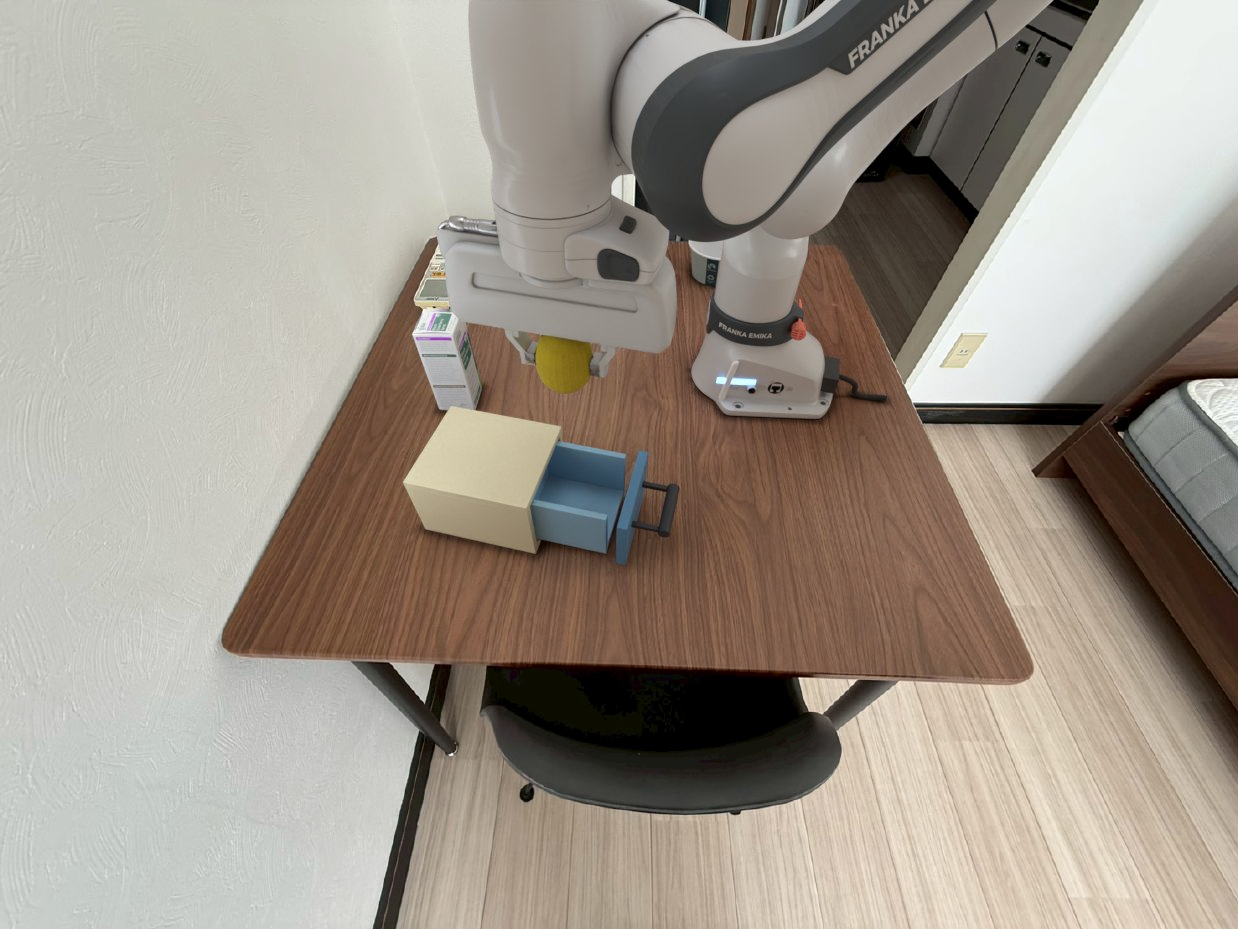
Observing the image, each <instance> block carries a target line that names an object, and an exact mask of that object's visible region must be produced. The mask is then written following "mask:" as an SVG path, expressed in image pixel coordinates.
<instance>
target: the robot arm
mask: <svg viewBox="0 0 1238 929" xmlns="http://www.w3.org/2000/svg"><path fill="white" fill-rule="evenodd" d="M1053 1H1054V0H824V1H823V2H822V3H820V4H819V5H818V6H817V7H815V9H814V10H813V11H811V12H810V13H809V15H807V16H806V17H805V18H804V19H803V20H802V21H800V23H798V24H796V25H795V26H794V27H793V28H791V29H790V30H789V29H788V31H785V32H783V33H781V34H778V35H775V36H772V37H767V38H763V39H755V40H753V39H752V40H738V39H737V38H735V37H733V36H732V35H731V34H729V33H728V32H725V31H724V30H723V29H722V28H720V27H719V26H718V25H717V24H715V23H714V22H712V21H710V20H709V19H707V18H705V17H704V16H702V15H701V14H698V13H697V12H695V11H693V10H692V9H690V8H687V7H685V6H683V5H680V4H677V3H674V2H671V1H669V0H468V11H467V12H468V14H467V16H468V19H467V20H468V21H467V22H468V23H467V24H468V44H469V55H470V56H469V57H470V66H471V74H472V80H473V81H472V83H473V89H474V96H475V103H476V109H477V116H478V122H479V129H480V132H481V135H482V137H483V139H484V142H485V144H486V146H487V149H488V152H489V155H490V159H491V178H490V196H491V202H492V207H493V215H494V219H495V220H494V219H487V218H470V217H467V216H464V215H450V216H449V217H448V219H445V220H443V221H441V222H440V223H439V224H438V226H437V229H436V240H437V244H438V247H439V252H440V255H441V257H442V259H443V260H444V278H445V287H446V294H447V299H448V304H449V309H451V311H452V312H453V313H454V314H455V315H456V317H457V318H458V319H459V320H461V321H463V322H466V324H474V325H479V326H486V327H492V328H499V329H504V336H505V337H506V339H507V340H508V341H509V342H510V343H511V344H512V345H513V347H514V348H515V349H516V350H517V351H518V352H519V356H520V362H521V364H522V365H528V366H532V367H536V359H535V355H536V348H537V344H538V341H534V340H533V339H532V338H531V337H530V335H529V334H534V335H535V334H536V335H540V336H541V335H547V336H553V337H559V338H565V339H571V340H577V341H583V342H589V343H590V344H596V345H600V351H601V352H600V351H593V358H592V359H591V361H590V370H591V371H590V375H591V376H590V377H596V378H602V379H606V377H607V375H608V372H609V367H610V361H611V360H612V359H613V358H614V357H615V356H616V354H617V351H618V349H619V348H621V349H626V350H631V351H632V350H633V351H638V352H645V353H650V354H656V355H657V354H658V355H659V354H661V353H663V352H664V351H665V350H667V349H668V348H669V347H670V346H671V343H672V340H673V337H674V334H675V329H676V323H677V308H678V305H677V304H678V302H677V301H678V296H677V295H678V294H677V279H676V272H675V268H674V267H673V266H674V265H673V263H672V262H671V260H670V259H669V258H668V256H667V251H668V246H669V241H670V233H672V234H674V235H675V236H677V237H679V238H682V239H684V240H686V241H689V240H691V241H696V242H717V241H723V240H724V241H723V248H722V254H721V260H720V266H719V272H718V277H717V283H716V286H715V288H714V290H713V292H712V293H711V297H710V299H709V302H708V308H707V314H706V320H705V326H706V327H705V329H706V330H705V331H706V332H705V336H704V339H703V341H702V345H701V347H700V349H699V352H698V354H697V356H696V358H695V360H694V361H693V363H692V367H691V370H690V373H691V379H692V381H693V383H694V385H695V386H696V388H698V390H699V391H700V392H701V393H703V395H705V396H707V397H708V398H710V399H711V400H713V401H714V403H715V404H716V405H717V407H718V408H719V409H720V411H721V412H722V413H723V414H724V415H726V416H733V417H734V416H737V417H756V418H757V417H758V418H759V417H760V418H761V417H762V418H786V419H805V420H807V419H809V420H816V419H817V420H818V419H821V418H822V417H824V416H825V415H826V414H827V413H828V411H829V409H830V407H831V403H832V401H833V396H834V393H835V391H836V389H837V387H838V384H839V382H840V381H842V382H845V383H848V384H849V385H850V386H851V395H853V397H856V398H857V399H860V400H866V401H884V402H886V401H887V400H888V395H885V394H884V395H883V394H865V393H861V392H860V391H858V390H859V383H858V382H857V381H856V380H855V379H853V378H851V377H849V376H847V375H845V374H842V373H840V372H841V371H840V369H841V368H840V367H841V358H839V357H832V356H827V355H825V354H824V353H825V352H824V350H823V347H822V345H821V343H820V341H819V340H818V339H817V338H816V337H815V336H814V335H812V334H811V333H810V332H809V331H808V330H807V324H806V323H805V322H804V319H805V311H804V309H803V303H802V299H801V298H799V299H798V303H797V302H796V301H795V298H796V294H797V291H798V288H799V285H800V281H801V278H802V276H803V275H802V274H803V271H804V268H805V265H806V262H807V259H808V258H807V257H808V251H809V240H810V239H809V238H810V236H811V235H814V234H816V233H818V232H819V231H821V230H822V229H823V228H825V227H826V226H828V224H829V223H830V222H831V221H832V220H833V219H834V218H835V217H836V215H837V214H838V213H839V211H840V209H841V208H842V206H843V203H844V201H845V199H846V198H847V195H848V193H849V191H850V190H851V188H852V187H853V185H854V184H855V183H856V181H857V180H858V179H859V178H860V177H861V175H862V174H863V173H864V172H865V171H866V170H867V168H869V166H870V165H872V163H873V162H874V161H875V160H876V158H877V157H878V156H879V155H880V154H881V153H882V151H883V150H884V149H886V147H887V146H888V145H889V144H890V143H891V142H892V141H893V140H894V138H895V137H896V136H897V135H898V134H899V133H900V132H901V131H902V130H903V129H904V128H906V126H907V125H908V124H909V123H910V122H911V121H912V120H914V118H915V117H916V116H917V115H918V114H920V113H921V112H922V111H923V110H924V109H925V108H927V107H928V106H929V105H930V104H932V103H933V102H934V101H935V100H937V99H938V98H939V97H940V96H941V95H943V94H944V93H945V92H946V91H948V90H949V89H950V88H951V87H952V86H954V85H955V84H956V83H958V82H959V81H960V80H961V79H962V78H963V77H965V76H966V75H967V74H968V73H970V72H971V71H972V70H974V69H975V68H976V67H977V66H978V65H980V64H981V63H982V62H984V61H985V60H986V59H987V58H988V57H990V56H991V55H993V53H995V52H996V51H997V50H999V48H1001V47H1002V46H1003V45H1004V44H1006V43H1008V41H1009V40H1010V39H1012V38H1013V37H1014V36H1016V34H1018V33H1019V32H1020V31H1021V30H1022V29H1023V28H1024V27H1026V26H1027V25H1028V24H1030V22H1032V20H1034V19H1035V18H1036V17H1037V16H1038V15H1039V14H1041V12H1042V11H1044V9H1046V8H1047V7H1048V6H1049V5H1050V4H1051V3H1052V2H1053ZM626 175H627V176H628V175H633V176H634V177H635V179H636V182H637V184H638V186H639V188H640V190H641V192H642V194H643V196H644V198H645V200H646V202H647V204H648V206H649V208H650V210H651V212H652V214H651V213H649V212H646V211H645V210H643V209H640V208H638V207H637V206H634V205H632V204H630V203H628V202H627V201H625V200H623V199H620V198H619V197H618V196H615V195H613V194H612V192H613V191H612V185H613V183H614V181H616V179H617V178H618V177H620V176H626Z"/></svg>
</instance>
